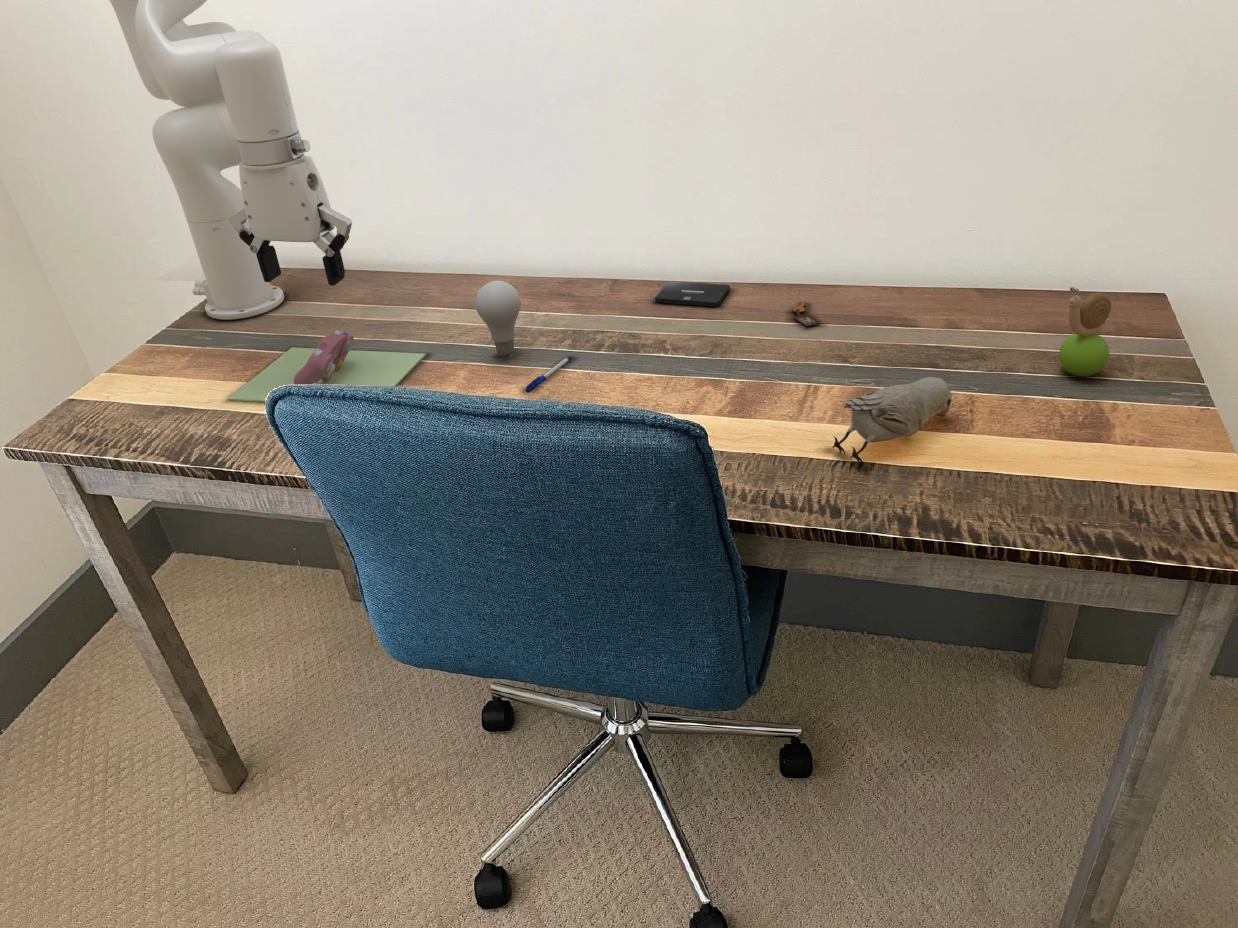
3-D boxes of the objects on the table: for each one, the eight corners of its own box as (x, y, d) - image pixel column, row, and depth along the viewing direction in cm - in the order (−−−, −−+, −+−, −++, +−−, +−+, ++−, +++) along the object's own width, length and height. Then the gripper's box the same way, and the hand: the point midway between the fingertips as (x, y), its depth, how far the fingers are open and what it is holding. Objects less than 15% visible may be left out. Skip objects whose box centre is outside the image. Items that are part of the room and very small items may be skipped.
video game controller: (321, 401, 131) (331, 360, 127) (289, 387, 131) (299, 346, 127) (352, 369, 139) (362, 329, 135) (323, 355, 139) (332, 315, 135)
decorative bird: (963, 425, 110) (970, 366, 106) (858, 474, 103) (862, 412, 99) (926, 408, 114) (932, 350, 110) (823, 453, 107) (826, 394, 103)
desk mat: (228, 400, 131) (228, 398, 131) (292, 349, 144) (291, 347, 144) (373, 409, 125) (373, 407, 125) (426, 355, 138) (425, 353, 138)
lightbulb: (535, 349, 137) (525, 275, 131) (514, 368, 132) (502, 292, 126) (499, 344, 139) (487, 272, 133) (476, 362, 134) (463, 288, 129)
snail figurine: (1039, 373, 119) (1055, 280, 112) (1080, 360, 121) (1097, 269, 114) (1073, 390, 114) (1091, 295, 108) (1114, 377, 116) (1134, 283, 110)
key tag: (821, 325, 135) (821, 321, 135) (800, 328, 135) (800, 324, 135) (804, 303, 142) (804, 299, 142) (784, 305, 142) (784, 302, 142)
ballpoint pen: (530, 394, 125) (529, 387, 125) (524, 393, 126) (523, 386, 125) (571, 360, 133) (571, 353, 132) (566, 359, 133) (565, 352, 133)
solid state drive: (717, 307, 144) (717, 302, 143) (654, 302, 147) (654, 298, 147) (730, 289, 149) (730, 285, 149) (669, 285, 153) (669, 281, 152)
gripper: (348, 142, 120) (376, 272, 129) (229, 141, 124) (264, 266, 133) (317, 159, 114) (349, 294, 123) (192, 157, 118) (232, 288, 127)
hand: (304, 280), depth 128 cm, fingers open, 9 cm apart
